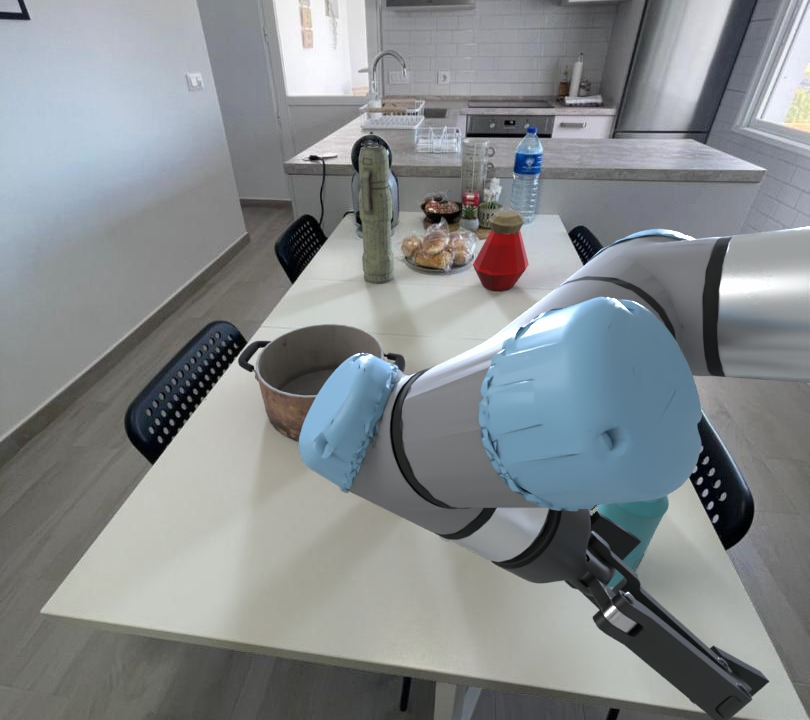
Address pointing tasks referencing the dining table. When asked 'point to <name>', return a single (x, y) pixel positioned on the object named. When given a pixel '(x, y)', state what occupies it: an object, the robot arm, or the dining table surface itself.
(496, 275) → the bottle
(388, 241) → the thermos
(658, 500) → the beverage bottle
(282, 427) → the cooking pot
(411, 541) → the dining table surface
